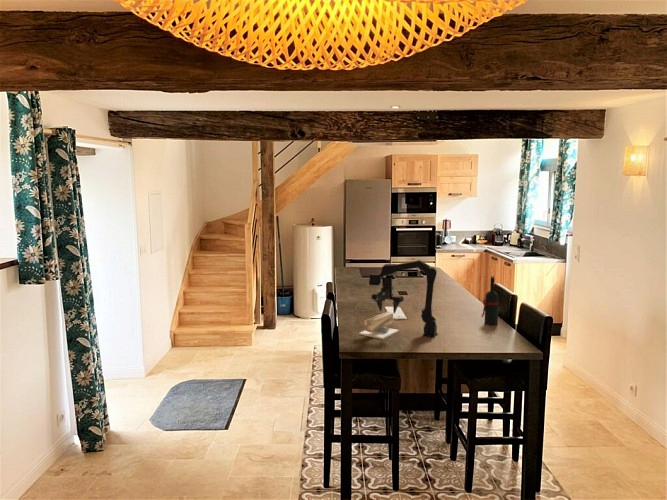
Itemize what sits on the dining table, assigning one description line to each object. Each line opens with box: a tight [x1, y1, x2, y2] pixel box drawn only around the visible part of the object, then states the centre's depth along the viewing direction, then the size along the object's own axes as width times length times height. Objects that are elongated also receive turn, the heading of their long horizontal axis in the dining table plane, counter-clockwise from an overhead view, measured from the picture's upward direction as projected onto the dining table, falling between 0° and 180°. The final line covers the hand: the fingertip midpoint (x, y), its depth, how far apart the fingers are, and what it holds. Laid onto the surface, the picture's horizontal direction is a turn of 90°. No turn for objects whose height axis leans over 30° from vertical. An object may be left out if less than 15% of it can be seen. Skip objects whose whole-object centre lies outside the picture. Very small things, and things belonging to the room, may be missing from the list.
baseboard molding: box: [384, 306, 409, 321], centre depth 343 cm, size 31×3×12 cm
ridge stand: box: [358, 326, 400, 340], centre depth 300 cm, size 16×18×4 cm
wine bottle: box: [481, 275, 499, 326], centre depth 315 cm, size 8×10×30 cm
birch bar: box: [364, 311, 394, 332], centre depth 299 cm, size 4×24×6 cm, turn 143°
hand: (387, 312), depth 298 cm, fingers open, 9 cm apart
